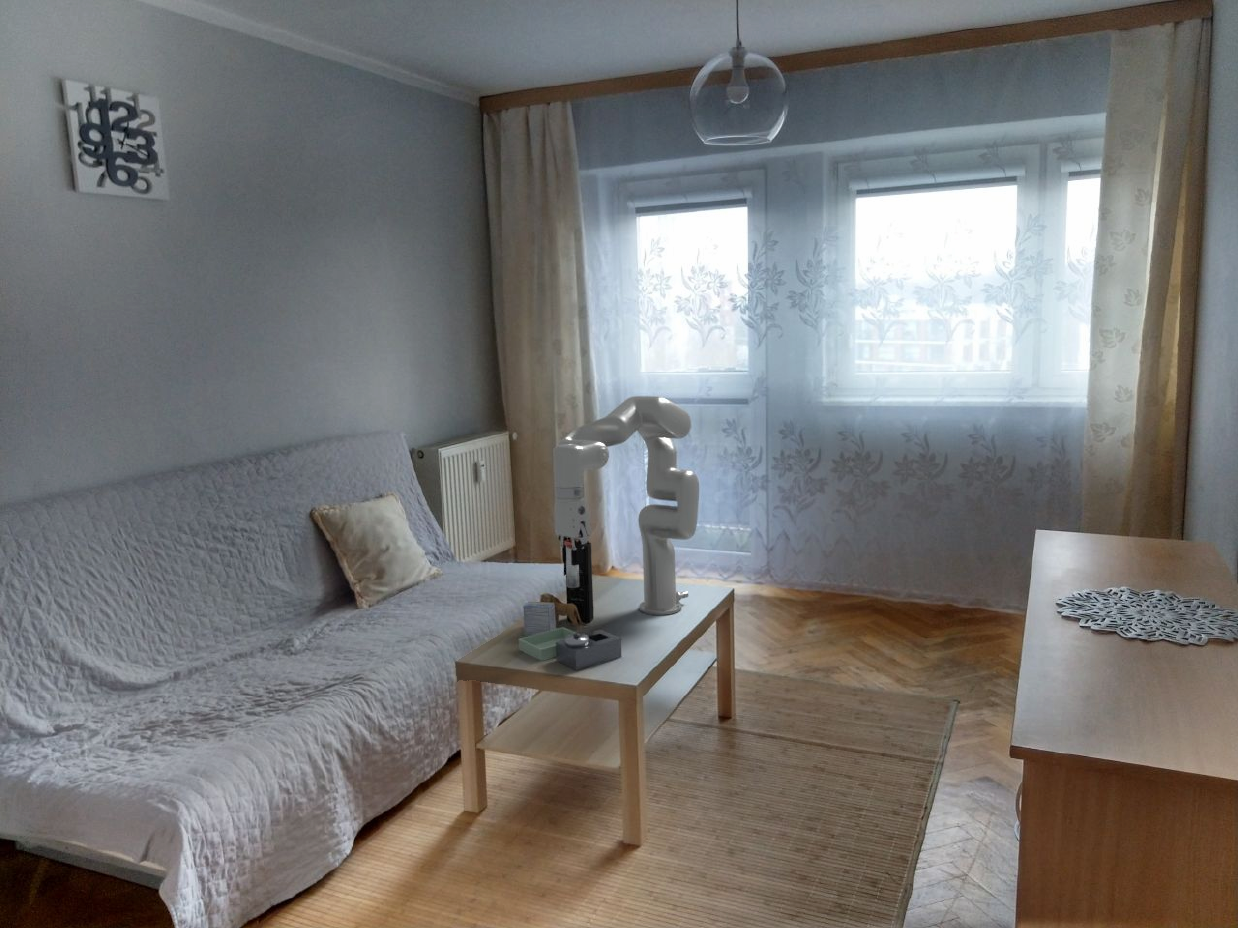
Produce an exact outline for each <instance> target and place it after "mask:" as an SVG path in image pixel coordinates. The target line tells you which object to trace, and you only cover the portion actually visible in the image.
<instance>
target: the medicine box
mask: <svg viewBox="0 0 1238 928" xmlns="http://www.w3.org/2000/svg"><path fill="white" fill-rule="evenodd" d="M522 607H523V621H524V622H523V623H524V625H523V626H524V635H525V637H528V636H532V635H536V634H539V633H543V632H547V631H551V630H555V629H557V623H556V619H555V603H548V602H540V601H528V602H527V603H525V605H524V606H522Z"/></svg>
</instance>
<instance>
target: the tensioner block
mask: <svg viewBox="0 0 1238 928" xmlns="http://www.w3.org/2000/svg"><path fill="white" fill-rule="evenodd" d="M575 633H576V634H571V635H568V636H566V637H565V640H561V641H557V642H556V657H555V659H556V662H558V663H560V662H561V663H560V664H563V665H564V666H567V667H569V668H571V669H572V670H575V671H579V670H583V669H585V668H590V667H593V666H596V665H600V664H602V663H607V662H610V661H613V660H616V659H619V658H622V639H621V637H619V636H616V635H614V634H612V633H609V632H606V631H604V630H601V629H599V630H594V631H591V632H587V633H577V632H575Z"/></svg>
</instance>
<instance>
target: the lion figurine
mask: <svg viewBox="0 0 1238 928" xmlns="http://www.w3.org/2000/svg"><path fill="white" fill-rule="evenodd" d="M539 599H540V601H539V602H548V603H555V619H556V624H557V623H559V621H560V616H562V617H565V616H566V617H567V615H568V617H569V618H570V620H571V621H572V622H571V624H572V626H573V630H578V629H579V623H580V625H582V626H583V627H587V626H588V625H587V623H582V622H581V620H580V616H579V613H578V610H577V607H576V606H575V605H574V604H567V603H564V602H561V601H560V599H559V598H558V597H556V596H554V595H553V594H550V593H548V592H545V593H542V594H540V598H539ZM576 616H577V617H578V619H579V621H580V622H577V619H576Z"/></svg>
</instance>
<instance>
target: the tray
mask: <svg viewBox="0 0 1238 928" xmlns="http://www.w3.org/2000/svg"><path fill="white" fill-rule="evenodd" d="M576 633H577V632H575V631H572V630H570V629H569V628H565V627H558V628H556V629H555V630H551V631H547V632H543V633H539V634H536V635H532V636H525V637H524V636H523V637H520V638H518V649H519V651H521V652H523V653H525V654H526V655H529V656H530V657H533V658H534V659H537V660H538V661H541V662H542V660H543V661H546V660H549V658H550V659H552V658H556V642H557V641H561V640H565V637H566V636H568V635H571V634H576Z"/></svg>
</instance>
